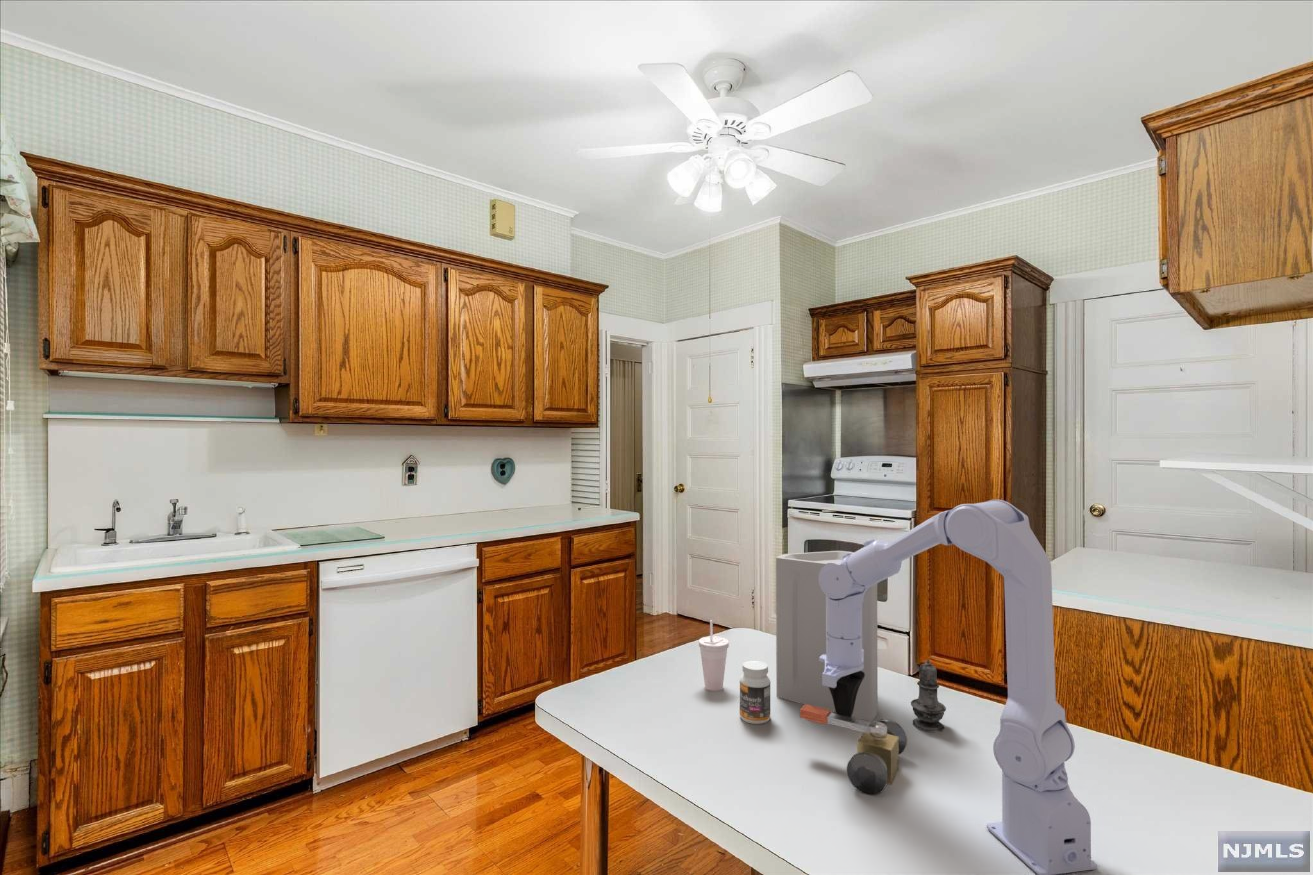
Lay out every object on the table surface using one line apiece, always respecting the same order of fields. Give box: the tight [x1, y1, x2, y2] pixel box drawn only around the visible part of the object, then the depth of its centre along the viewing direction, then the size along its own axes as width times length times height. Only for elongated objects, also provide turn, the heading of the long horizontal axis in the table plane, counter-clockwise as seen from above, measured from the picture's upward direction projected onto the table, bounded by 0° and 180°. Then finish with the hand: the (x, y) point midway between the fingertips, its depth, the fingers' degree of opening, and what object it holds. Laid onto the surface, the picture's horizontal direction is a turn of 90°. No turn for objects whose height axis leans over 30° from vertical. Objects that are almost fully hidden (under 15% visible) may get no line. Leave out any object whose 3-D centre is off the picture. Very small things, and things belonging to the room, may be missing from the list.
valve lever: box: [799, 704, 887, 739], centre depth 99 cm, size 14×3×1 cm, turn 56°
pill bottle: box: [739, 660, 771, 725], centre depth 114 cm, size 6×6×10 cm
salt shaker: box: [910, 658, 947, 733], centre depth 111 cm, size 6×6×12 cm
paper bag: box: [775, 550, 879, 722], centre depth 124 cm, size 19×15×28 cm
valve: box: [846, 718, 908, 796], centre depth 96 cm, size 14×6×6 cm, turn 146°
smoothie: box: [698, 619, 730, 692], centre depth 129 cm, size 6×6×14 cm
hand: (844, 716), depth 101 cm, fingers closed
